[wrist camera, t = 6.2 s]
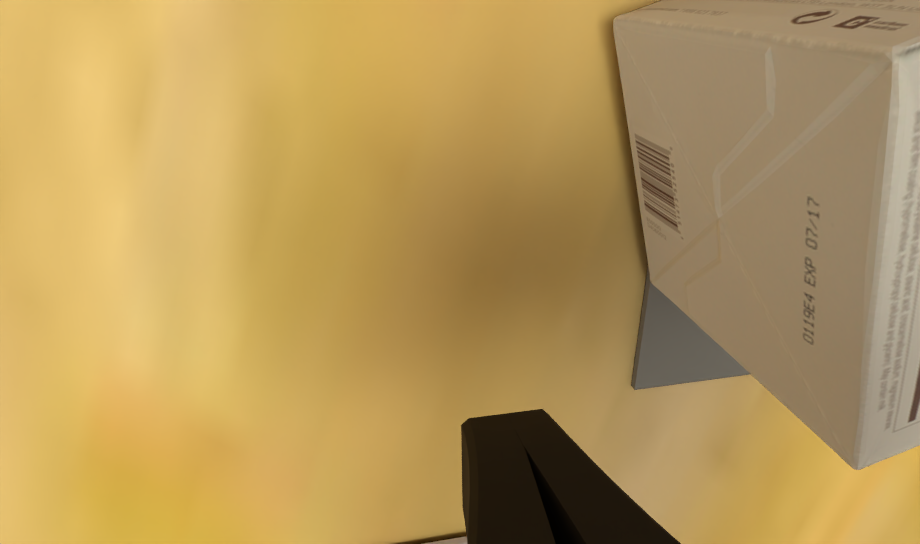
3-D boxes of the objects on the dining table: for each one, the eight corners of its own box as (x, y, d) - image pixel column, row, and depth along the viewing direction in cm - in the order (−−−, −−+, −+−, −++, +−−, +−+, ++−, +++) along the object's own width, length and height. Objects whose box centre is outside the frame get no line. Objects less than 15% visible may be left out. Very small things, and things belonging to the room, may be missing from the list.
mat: (982, 338, 25) (989, 341, 25) (631, 385, 23) (634, 389, 23) (1173, -74, 18) (1185, -75, 18) (695, -71, 16) (701, -73, 15)
